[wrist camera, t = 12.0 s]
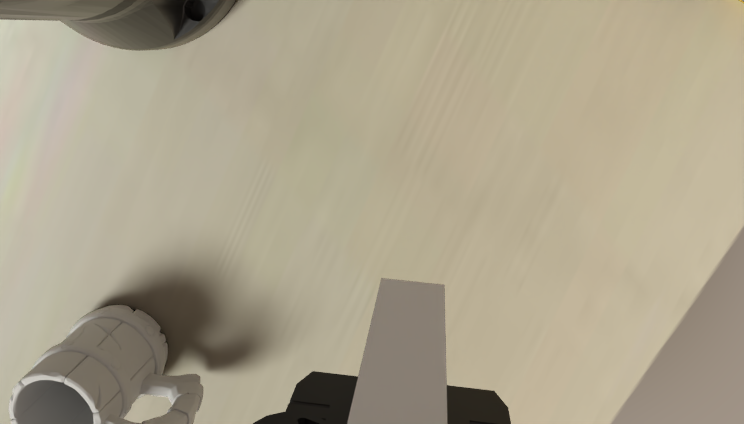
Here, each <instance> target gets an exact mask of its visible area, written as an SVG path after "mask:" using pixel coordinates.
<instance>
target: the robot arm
mask: <svg viewBox="0 0 744 424" xmlns="http://www.w3.org/2000/svg"><path fill="white" fill-rule="evenodd" d="M235 1H236V0H0V19H11V20H60V21H61V22H63V23H64V24H66V25H67V26H69V27H70V28H72V29H73V30H75V31H76V32H78V33H80V34H81V35H83V36H85V37H87V38H89V39H91V40H93V41H96V42H99V43H101V44H104V45H108V46H111V47H115V48H120V49H126V50H159V49H167V48H172V47H176V46H180V45H183V44H186V43H188V42H190V41H193V40H195V39H197V38H198V37H200V36H202V35H203V34H205V33H206V32H208V31H209V30H210V29H212V28H213V27H214V26H215V25H216V24H217V23H218V22H219V21H220V20H221V19H222V18H223V17H224V16H225V15H226V14H227V12H228V11H229V10H230V8H231V7H232V6H233V4H234V3H235ZM253 424H511V422H510V416H509V411H508V407H507V406H506V405H505V404H504V402H503V401H502V400H501V399H500V397H499V396H498V395H497V394H496V393H495V391H489V390H481V389H473V388H464V387H456V386H448V385H447V382H446V335H445V289H444V285H441V284H432V283H423V282H413V281H404V280H395V279H385V278H381V282H380V287H379V291H378V295H377V299H376V303H375V308H374V312H373V316H372V320H371V325H370V329H369V333H368V337H367V342H366V346H365V350H364V354H363V358H362V363H361V367H360V371H359V375H358V377H356V376H348V375H339V374H331V373H323V372H314V371H313V372H311V373H310V374H309V375H308V376H306V377H305V378H304V379H303V380H301V381H300V382H299V383H297V385H296V387H295V390H294V392H293V395H292V397H291V400H290V403H289V404H288V407H287V409H286V412H281V413H277V414H273V415H268V416H266V417H264V418H262V419H260V420H258V421H257V422H255V423H253Z"/></svg>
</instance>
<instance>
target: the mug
mask: <svg viewBox="0 0 744 424" xmlns="http://www.w3.org/2000/svg"><path fill="white" fill-rule="evenodd" d="M160 330H161V327H160V326H159V325H158V323H157V322H156V321H155V320H154V319H153V318H152V317H150V316H149V315H148V314H146V313H145V312H143V311H141V310H139V309H136V310H135V311H134V310H132V309H131V308H130V307H129V306H126V305H111V306H107V307H104V308H101V309H98V310H95V311H92V312H90V313H88V314H86V315H85V316H83V317H82V318H81V319H80V320H79V321H78V322H77V323H76V324H75V325H74V326H73V327H72V329H71V330H70V332H69V334H68V335H67V337H66V339H65V340H64V341H63V342H61V343H60V344H58V345H56V346H54V347H52V348H50V349H49V350H48V351H46V352H45V353H44V354H43V355H42V356H41V357H39V359H38V360H37V361H36V362H35V364H34V366H33V367H32V369H31V371H30V372H29V373H28V374H26V375H25V376H24V377H23V378H22V379H21V380H20V381H19V382H18V383H17V384H16V385H15V387H14V388H13V395H12V396H11V398H10V402H9V415H10V419H12V420H11V423H12V424H193V422H194V418H195V414H196V412H198V410H199V408H200V405H201V402H202V398H203V386H202V385H201V384H200V376H199V375H197V374H187V375H180V376H163V375H162V374H163V371H164V366H165V364H166V360H167V356H168V345H167V343H165V341H166V338H165V335H164V334H162V333H160ZM144 395H153V396H159V397H168V399H169V401H170V402H171V404H172V407H171V408H170V409H169V410H168V412H167V414H165V415H163V416H161V417H156V418H153V419H150V420H147V421H143V422H142V423H134V422H131V421H127V420H125V419H123V418H124V417H125V416H126V414H127V413H128V412H129V410H130V409H131V406H132V404H133V403H134V401H135V400H136V399H138V398H140V397H142V396H144Z"/></svg>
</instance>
